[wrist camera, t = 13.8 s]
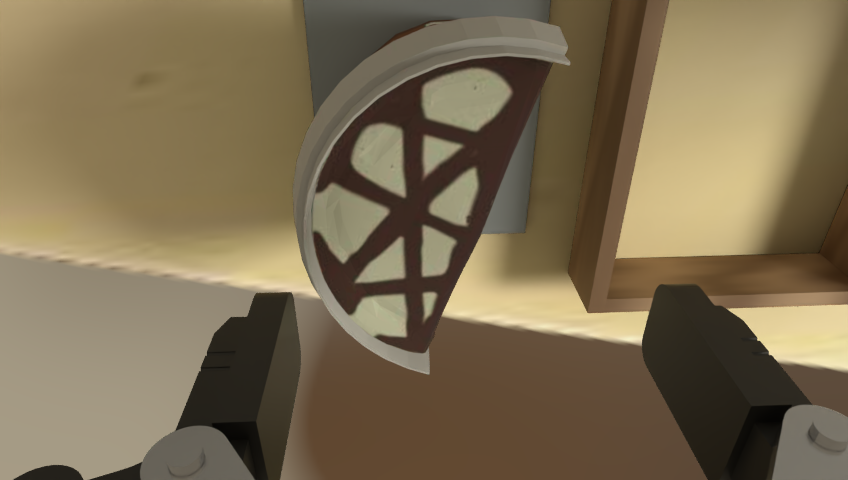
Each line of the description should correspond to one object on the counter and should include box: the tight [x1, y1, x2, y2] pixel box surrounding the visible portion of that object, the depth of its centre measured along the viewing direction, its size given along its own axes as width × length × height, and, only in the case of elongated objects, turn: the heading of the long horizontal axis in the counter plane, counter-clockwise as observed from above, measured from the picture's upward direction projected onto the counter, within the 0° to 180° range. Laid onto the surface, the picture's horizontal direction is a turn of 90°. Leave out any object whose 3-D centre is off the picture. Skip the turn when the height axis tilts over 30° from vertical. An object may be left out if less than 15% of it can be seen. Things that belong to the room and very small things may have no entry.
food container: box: [293, 16, 571, 374], centre depth 21 cm, size 12×6×10 cm, turn 161°
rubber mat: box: [303, 0, 551, 234], centre depth 26 cm, size 10×13×1 cm
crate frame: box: [568, 0, 848, 313], centre depth 26 cm, size 15×17×4 cm
